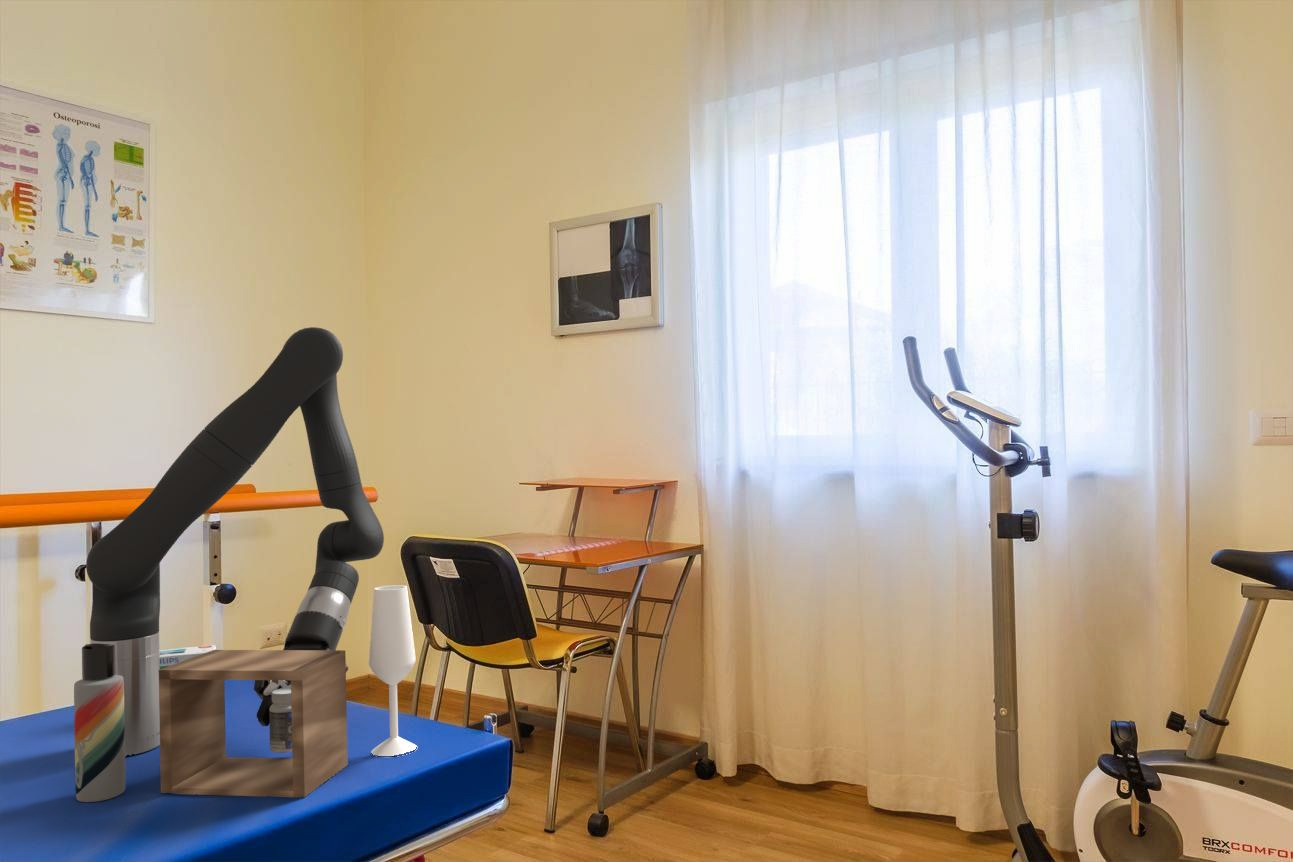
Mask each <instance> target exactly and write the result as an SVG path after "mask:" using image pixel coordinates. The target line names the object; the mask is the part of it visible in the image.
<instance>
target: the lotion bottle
mask: <svg viewBox="0 0 1293 862" xmlns="http://www.w3.org/2000/svg"><path fill="white" fill-rule="evenodd" d="M115 674H116V663H115V645H110V644H90V643H88V644H87V643H86V644H84V645H83V646H82V647H81V676H82V677H81V679H79V680H77V681H75V683H73V684H74V685H73V707H74V708H73V709H74V710H73V714H74V716H73V717H74V718H73V719H74V720H73V721H74V724H73V725H74V729H73V730H74V775H75V776H74V779H75V780H74V781H75V782H74V784H75V797H76V801H78V802H80V803H81V802H82V803H92V802H93V803H94V802H95V803H96V802H101V801H102V802H103V801H106V800H110V799H113V798H116V797H118V796H120V795H121V794H123V793H124V792H125V791H126V756H125V714H124V678H123V677H122V676H120V675H115Z"/></svg>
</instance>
